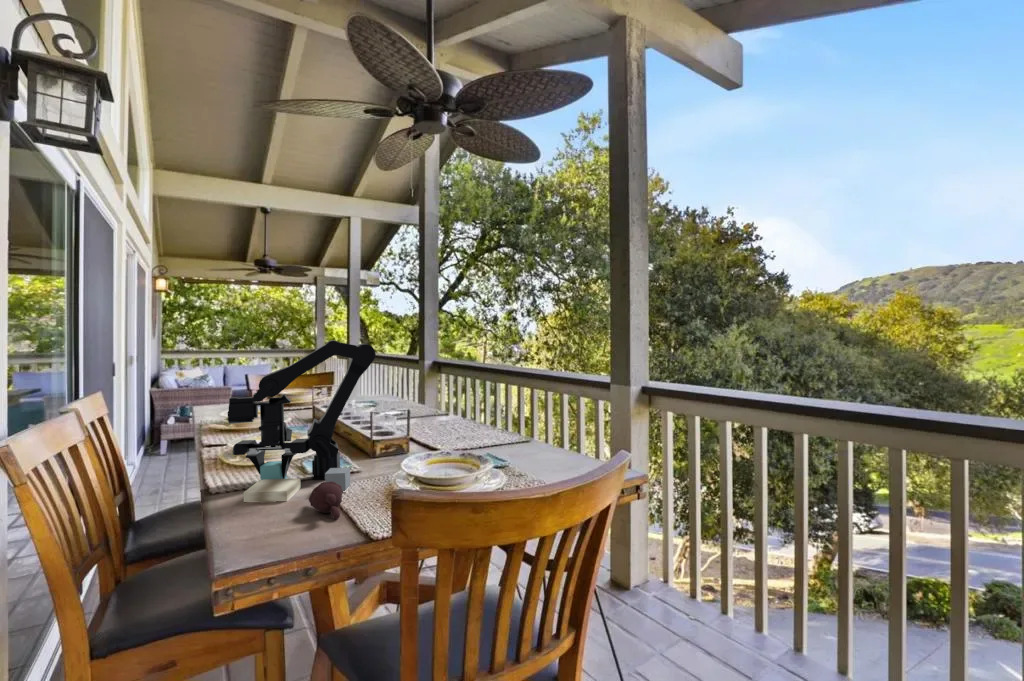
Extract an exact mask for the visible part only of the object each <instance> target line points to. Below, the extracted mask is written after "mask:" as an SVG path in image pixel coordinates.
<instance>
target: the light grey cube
mask: <svg viewBox="0 0 1024 681" xmlns="http://www.w3.org/2000/svg"><path fill="white" fill-rule="evenodd" d="M324 482H335V483H336V484H339V485H340V486H341V487H342V491H345V490H346V489H347V488H348V487H349V486H350V487H351V468H350V467H340V468H330V469H329V470H328V471H327V472H326V473H325V479H324ZM350 487H349V488H350Z"/></svg>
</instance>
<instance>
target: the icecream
mask: <svg viewBox="0 0 1024 681" xmlns="http://www.w3.org/2000/svg"><path fill="white" fill-rule="evenodd" d="M343 494H344V493H343V491H342V487H341V486H340V485H339V484H336V483H335V482H325V481H323V482H321V483H320V484H318V485H317V486H316V487H314V488H313V489H312V491H311V493H310V494H309V495H310V496H309V497H308V502H309V506H311V507H312V508H314V509H316V512H320V513H325V514H329V513H330V515H331V516H332V518H333V519H334V520H339V519H340V517H341V511H340V510H339V508H338V507H339V506H340V505H341V504H342V502H343V500H342V499H343Z"/></svg>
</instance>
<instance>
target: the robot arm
mask: <svg viewBox="0 0 1024 681" xmlns="http://www.w3.org/2000/svg"><path fill="white" fill-rule="evenodd" d="M376 355H377V354H376V350H375V348H374V346H371V345H370V344H367V343H359V344H357V345H354V344H350V343H346V342H341V341H337V340H335V339H332V340H329V341H327V342H326V343H325V344H323V345H322V346H320V347H319V348H316V349H315V350H313V351H312V352H310V353H308V354H306V355H305V356H304V357H302V358H301V359H298V360H297V361H295V362H294V363H292V364H291V365H288V366H285V367H283V368H279V369H278V370H275V371H271V372H270V373H267V374H266V375H264V376H263V377H262V378H261V379H260V380H259V384H258V390H257V391H256V392H254V393H253V395H252V396H246V397H245V396H244V397H237V396H235V397H234V396H233V397H232V396H231V397H230V398H229V399H228V400H229V401H228V402H229V403H228V411H227V422H228V424H229V425H231V424H247V423H253V422H254V420H255V419H258V417H259V414H260V426H258V431H260V441H259V442H257V440H256V439H243V440H240V441H238V442H236V443H235V444H234V445H233V447H232V455H233V456H245V458H246V459H249V460H250V461H251V463H252V464H253V465H254V468H256V470H257V473H258V474H259V475H260V466H262V465H263V464H265V463H266V462H265V455H266V451H284V453H283V454H281V461H282V477H283V478H285V477H286V474H287V475H288V470H289V468H290V465H291V462H292V459H293V458H294V456H295V455H297V454H306V453H307V452H309V451H310V450H312V451H313V452H315V454H314V455H313V460H312V461H311V467H312V468H311V469H312V470H311V471H312V474H311V475H312V477H311V478H312V480H325V473H326V472H327V471H328V470H329V469H330V468H341V453H340V452H339V450H340V449H339V446H338V442H337V441H336V440H335V439H334V438H333V436H334V432H335V427H336V425H337V421H338V419H339V418H340V415H341V413H342V412H343V410H344V408H345V406H346V404H347V402H349V398H350V397H351V395H352V393H353V391H354V389H355V387H356V385H357V383H358V381H359V379H360V378H361V377H362V375H363V374H364V373H365V372H366V370H368V369H369V367H370V366H371V364H373V362H374V361H375V359H376ZM334 356H339V357H345V358H348V359H349V363H348V366H347V370H346V373H345V374H344V376H343V377H342V380H341V382H340V383H339V385H338V388H337V390H336V391H335V394H334V395H333V397H332V399H331V401H330V403H329V405H328V406H327V409H326V410H325V412H324V414H323V415H322V416H321V418H319V420H318V419H317V418H313V421H312V424H311V426H310V428H309V429H308V430H307V434H306V436H307V438H296V439H294V440H293V441H292V433H293V429H290V428H288V427H287V423H286V422H285V411H284V410H285V409H284V407H285V406H284V405H287V404H291V401H292V399H291V398H289V397H288V396H287V395H286V393H284V394H282V395H281V396H279V397H278V396H277V395H279V394H280V393H282V392H283V391H284V390H286V388H287V387H288V386H290V385H291V383H293V382H294V381H295V380H296V379H297V378H298V377H300V376H302V375H303V374H305V373H307V372H308V371H311V370H312V369H313V368H315V367H316V366H318V365H319V364H322V363H323V362H325V361H327V360H328V359H329V358H331V357H334ZM276 396H277V397H276ZM268 397H269V399H268V400H267V401H263V400H265V399H266V398H268ZM259 410H260V413H259Z"/></svg>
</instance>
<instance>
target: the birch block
mask: <svg viewBox="0 0 1024 681" xmlns="http://www.w3.org/2000/svg"><path fill="white" fill-rule="evenodd" d="M301 482H302V481H301V478H287V479H265V480H260V479H259V480H258V481H257V482H255V483H254V484H253V485H252V486H250V487H248V488H247V489H246V490H245V491H243V503H244V502H261V503H277V502H276V501H287V502H288V501H289V500H290V499H291V498H292V497H293V496H294V495H295V494H296V493H297V492H298V491H300V490H301Z"/></svg>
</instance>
